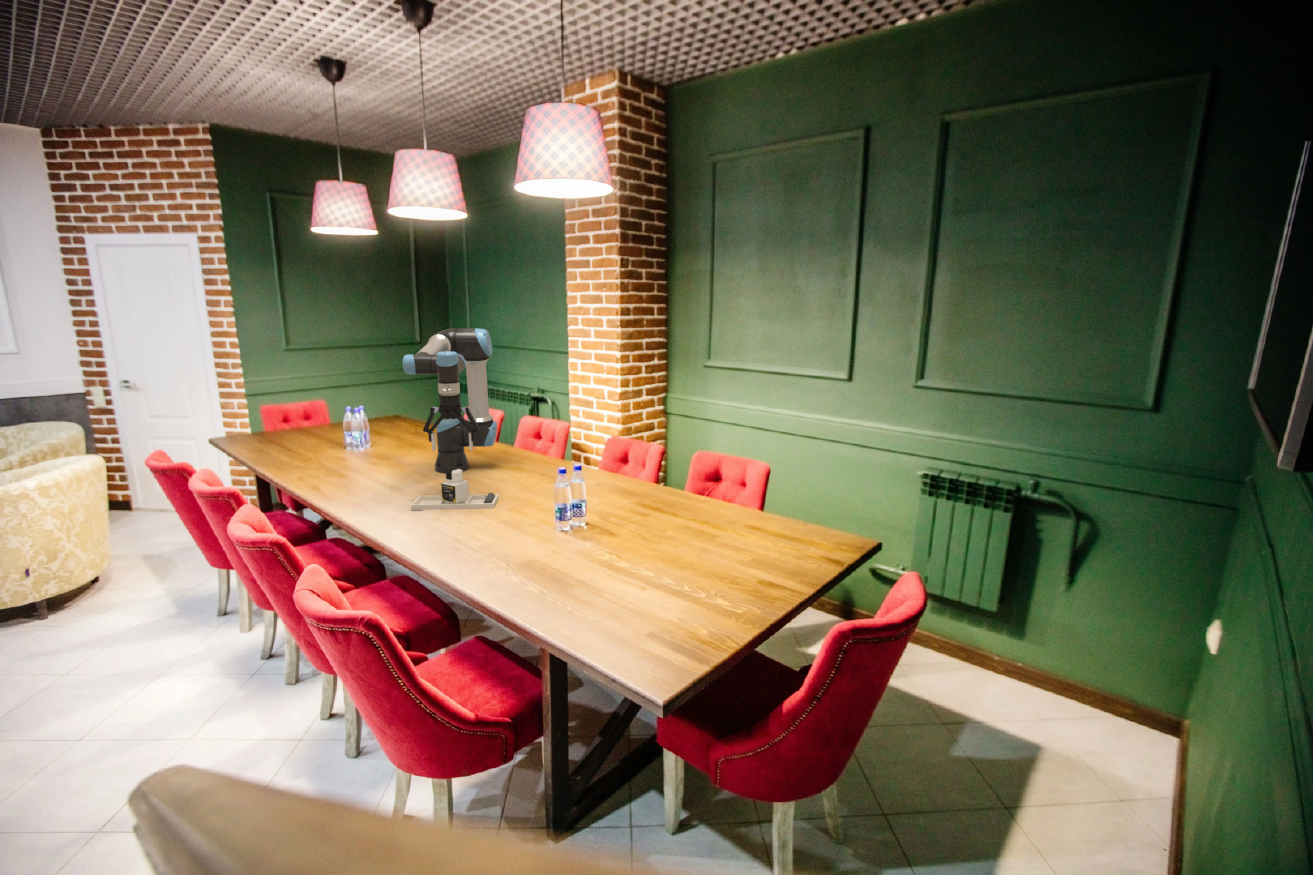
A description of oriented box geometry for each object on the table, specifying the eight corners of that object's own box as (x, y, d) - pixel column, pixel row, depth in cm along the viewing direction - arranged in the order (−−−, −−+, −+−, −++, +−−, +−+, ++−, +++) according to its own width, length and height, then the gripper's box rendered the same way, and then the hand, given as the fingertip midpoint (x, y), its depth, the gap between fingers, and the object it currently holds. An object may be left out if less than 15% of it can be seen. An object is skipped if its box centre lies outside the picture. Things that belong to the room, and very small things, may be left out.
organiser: (419, 501, 247) (419, 495, 246) (498, 499, 250) (498, 494, 249) (411, 510, 235) (410, 505, 235) (493, 509, 238) (493, 503, 238)
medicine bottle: (441, 500, 241) (439, 470, 238) (455, 495, 247) (454, 465, 244) (455, 503, 237) (453, 472, 235) (469, 498, 244) (467, 468, 241)
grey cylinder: (488, 491, 247) (496, 494, 247) (486, 498, 247) (493, 501, 248) (485, 498, 239) (492, 500, 239) (482, 505, 239) (490, 507, 240)
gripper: (411, 395, 228) (415, 452, 233) (482, 395, 231) (484, 451, 235) (417, 392, 236) (421, 447, 240) (485, 392, 238) (488, 447, 243)
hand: (452, 449), depth 238 cm, fingers open, 13 cm apart
